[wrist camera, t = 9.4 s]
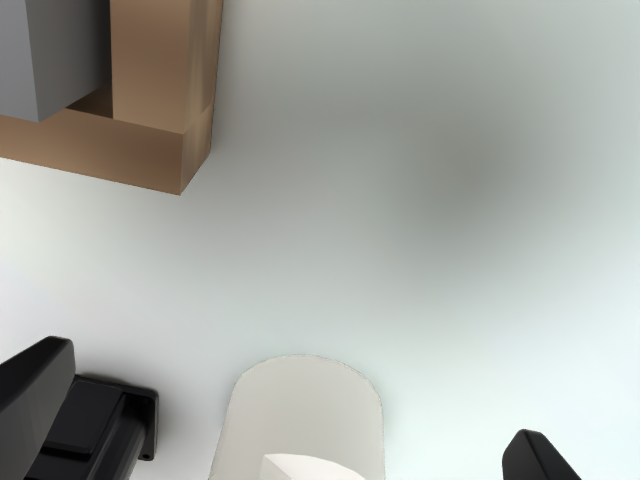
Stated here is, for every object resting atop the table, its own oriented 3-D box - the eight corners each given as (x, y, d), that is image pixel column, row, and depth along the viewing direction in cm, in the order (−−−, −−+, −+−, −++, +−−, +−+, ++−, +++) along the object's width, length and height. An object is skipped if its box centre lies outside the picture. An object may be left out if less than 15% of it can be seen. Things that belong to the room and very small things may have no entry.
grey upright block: (140, 63, 19) (38, 123, 13) (36, 39, 19) (-116, 88, 13) (140, -55, 17) (19, -50, 11) (23, -83, 16) (-167, -94, 11)
